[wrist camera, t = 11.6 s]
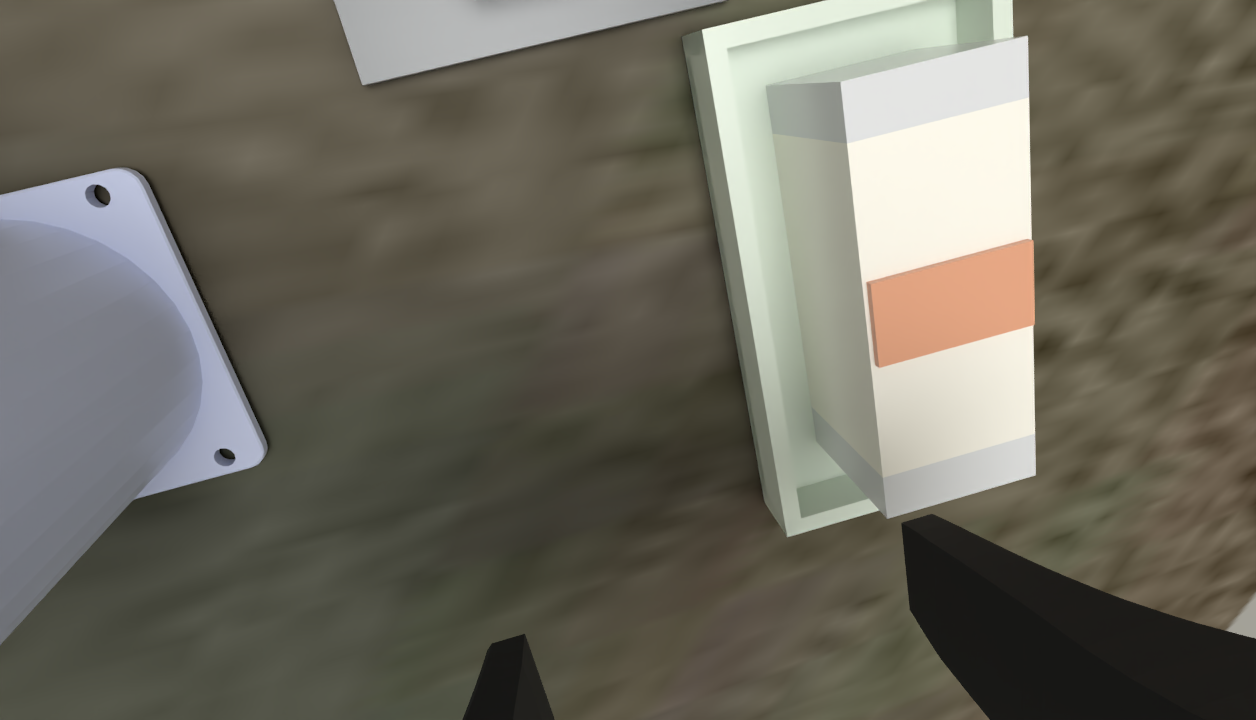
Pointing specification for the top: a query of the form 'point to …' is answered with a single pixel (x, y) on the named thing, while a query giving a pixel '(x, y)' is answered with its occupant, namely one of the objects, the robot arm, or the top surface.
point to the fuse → (914, 266)
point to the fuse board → (476, 28)
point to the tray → (754, 218)
